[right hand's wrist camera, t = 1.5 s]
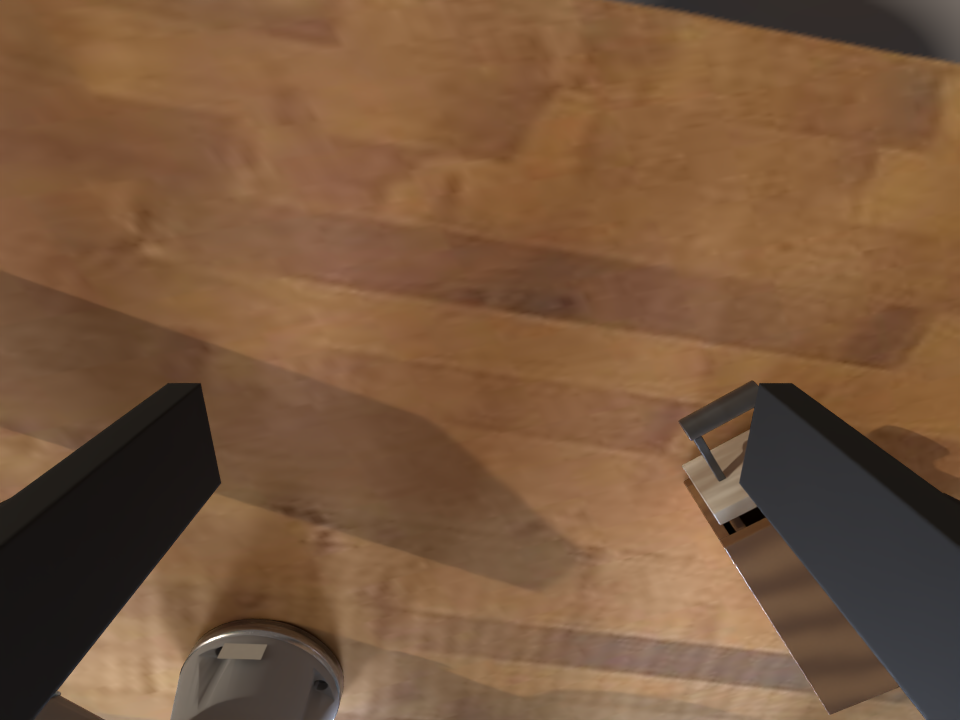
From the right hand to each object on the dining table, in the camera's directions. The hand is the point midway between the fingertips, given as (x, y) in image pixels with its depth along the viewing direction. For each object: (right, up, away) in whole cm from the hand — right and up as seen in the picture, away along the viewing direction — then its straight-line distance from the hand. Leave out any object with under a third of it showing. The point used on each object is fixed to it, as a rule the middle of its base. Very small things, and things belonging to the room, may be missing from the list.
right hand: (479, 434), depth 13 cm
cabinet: (+27, -14, +34) cm, 46 cm away
